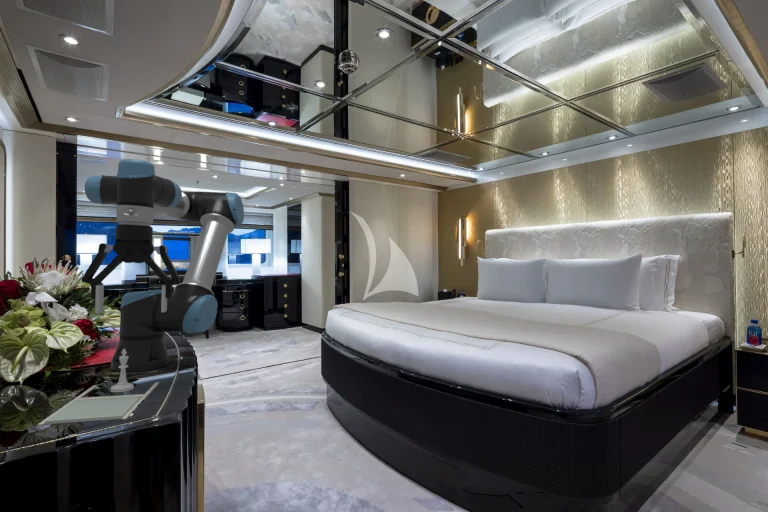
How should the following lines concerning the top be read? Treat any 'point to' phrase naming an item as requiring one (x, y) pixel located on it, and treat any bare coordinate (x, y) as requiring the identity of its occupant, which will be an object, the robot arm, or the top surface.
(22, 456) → the top surface
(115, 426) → the top surface
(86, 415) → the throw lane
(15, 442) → the top surface
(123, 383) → the chess piece
